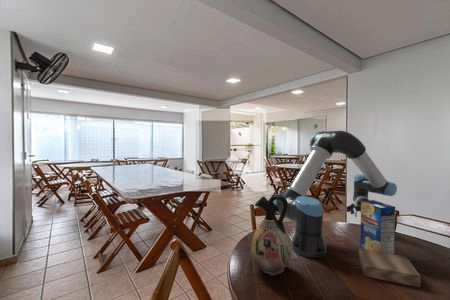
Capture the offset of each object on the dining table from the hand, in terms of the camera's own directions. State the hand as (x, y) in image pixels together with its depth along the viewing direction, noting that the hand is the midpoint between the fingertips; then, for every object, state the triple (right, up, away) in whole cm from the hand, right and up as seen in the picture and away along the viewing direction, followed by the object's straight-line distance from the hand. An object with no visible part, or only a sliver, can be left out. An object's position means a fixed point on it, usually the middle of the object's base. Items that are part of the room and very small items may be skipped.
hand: (372, 216), depth 105 cm
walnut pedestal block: (-10, -14, -22) cm, 28 cm away
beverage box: (-4, -14, -9) cm, 17 cm away
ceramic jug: (-53, -15, -21) cm, 59 cm away
